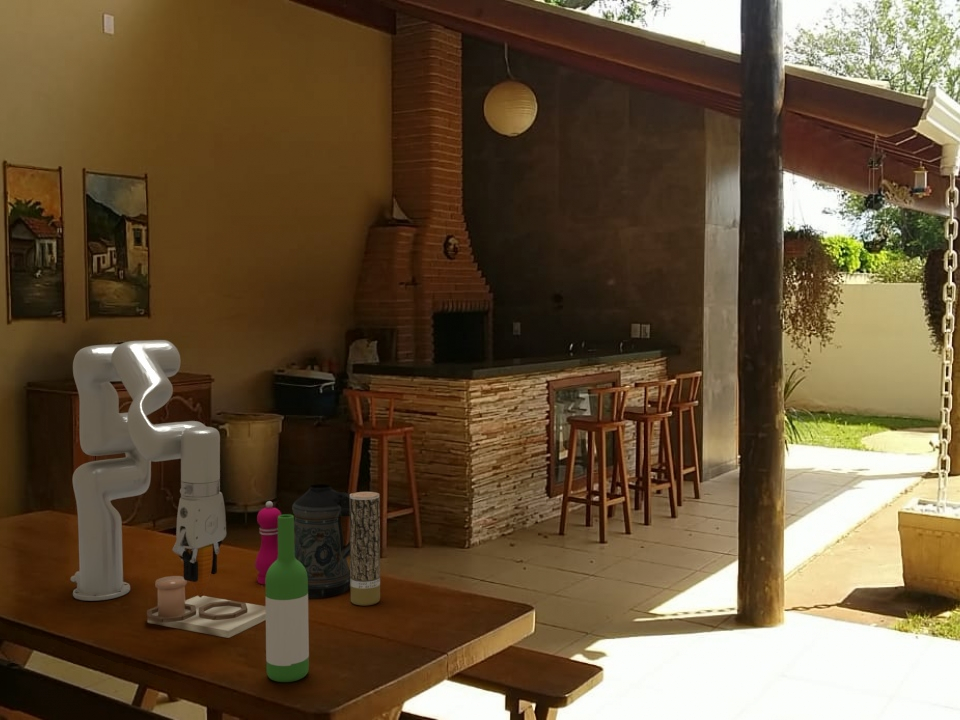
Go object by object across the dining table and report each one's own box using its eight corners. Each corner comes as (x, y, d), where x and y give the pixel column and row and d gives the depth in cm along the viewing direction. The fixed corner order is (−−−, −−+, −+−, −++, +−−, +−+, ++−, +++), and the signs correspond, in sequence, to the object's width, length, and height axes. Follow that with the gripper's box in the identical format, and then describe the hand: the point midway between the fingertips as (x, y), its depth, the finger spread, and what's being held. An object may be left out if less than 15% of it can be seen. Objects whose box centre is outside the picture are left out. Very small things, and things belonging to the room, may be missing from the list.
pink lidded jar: (149, 616, 205) (148, 582, 205) (170, 607, 211) (170, 574, 210) (172, 620, 202) (171, 586, 202) (193, 611, 208) (192, 578, 208)
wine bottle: (316, 677, 176) (314, 516, 174) (276, 687, 171) (274, 522, 169) (298, 664, 182) (296, 509, 180) (259, 673, 178) (257, 514, 176)
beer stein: (276, 583, 234) (274, 482, 233) (353, 574, 242) (352, 476, 240) (290, 602, 219) (289, 495, 218) (372, 592, 227) (371, 488, 225)
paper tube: (385, 599, 221) (385, 493, 220) (370, 608, 215) (369, 498, 214) (360, 595, 224) (359, 490, 223) (344, 604, 218) (343, 496, 216)
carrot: (190, 602, 191) (190, 529, 189) (185, 595, 195) (185, 523, 194) (215, 599, 193) (215, 526, 192) (210, 591, 197) (210, 520, 196)
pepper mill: (288, 577, 239) (287, 498, 238) (280, 585, 232) (279, 504, 231) (260, 576, 240) (259, 497, 239) (251, 585, 233) (250, 504, 232)
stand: (137, 624, 204) (136, 614, 204) (195, 600, 220) (195, 591, 220) (222, 641, 194) (221, 630, 194) (276, 614, 211) (276, 604, 211)
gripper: (185, 499, 183) (185, 591, 184) (242, 482, 198) (242, 568, 200) (155, 494, 186) (155, 585, 188) (214, 478, 201) (214, 563, 203)
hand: (200, 575), depth 194 cm, fingers closed on carrot, 4 cm apart
